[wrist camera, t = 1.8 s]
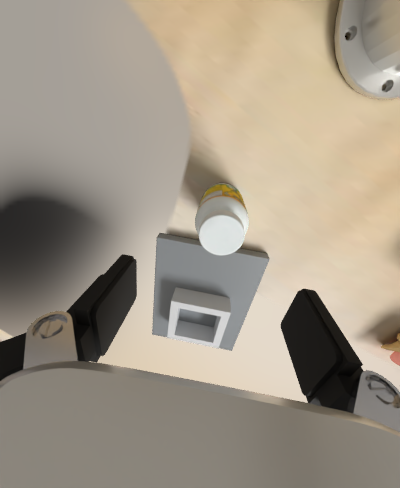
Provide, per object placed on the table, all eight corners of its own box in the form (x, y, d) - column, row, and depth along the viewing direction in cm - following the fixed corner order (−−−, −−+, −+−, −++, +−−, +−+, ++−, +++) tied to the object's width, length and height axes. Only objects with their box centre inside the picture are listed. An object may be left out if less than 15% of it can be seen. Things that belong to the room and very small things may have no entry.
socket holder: (160, 232, 28) (149, 247, 24) (267, 253, 27) (274, 272, 23) (154, 327, 39) (146, 348, 35) (231, 343, 38) (232, 366, 34)
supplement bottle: (194, 193, 24) (179, 221, 16) (233, 174, 23) (238, 194, 14) (212, 228, 26) (207, 269, 18) (249, 213, 25) (261, 250, 16)
